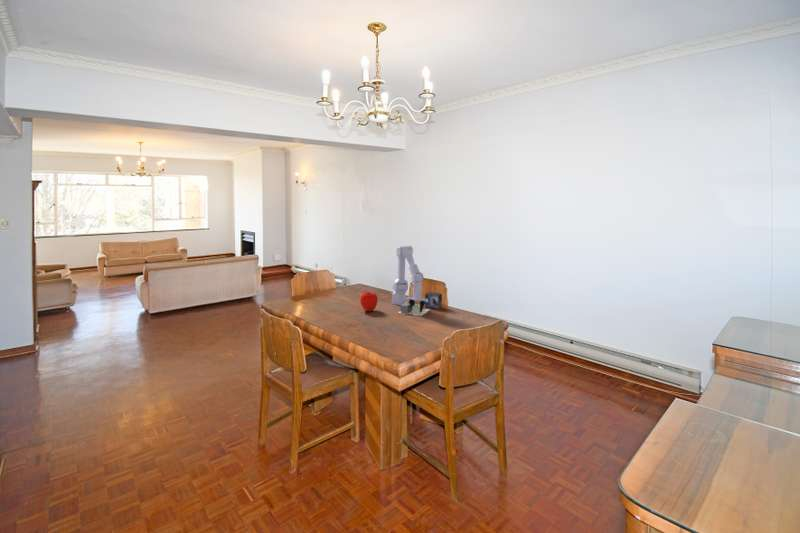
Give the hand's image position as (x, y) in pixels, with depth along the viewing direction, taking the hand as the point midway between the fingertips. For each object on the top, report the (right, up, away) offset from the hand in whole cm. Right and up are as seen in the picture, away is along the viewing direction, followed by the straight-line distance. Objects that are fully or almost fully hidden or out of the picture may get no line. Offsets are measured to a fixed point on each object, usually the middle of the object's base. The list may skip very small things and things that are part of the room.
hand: (417, 311), depth 264 cm
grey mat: (-2, -1, +5) cm, 5 cm away
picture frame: (+12, +1, +14) cm, 19 cm away
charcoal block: (-8, -1, +2) cm, 8 cm away
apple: (-32, -1, +6) cm, 33 cm away
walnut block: (-4, +1, +9) cm, 10 cm away
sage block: (0, -1, 0) cm, 1 cm away
